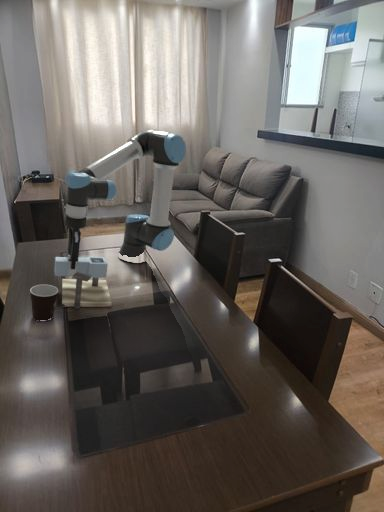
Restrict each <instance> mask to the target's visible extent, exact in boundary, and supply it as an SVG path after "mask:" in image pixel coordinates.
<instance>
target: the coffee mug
mask: <svg viewBox="0 0 384 512" xmlns="http://www.w3.org/2000/svg"><path fill="white" fill-rule="evenodd" d="M29 294H30V302H31V303H30V304H31V315H32V319H33V318H34V319H35V320H34V319H33V320H34V321H36V320H39V321H40V320H48V319H50V318H52V317H53V318H54V315H55V314H54V313H55V310H56V305H57V300H58V295H59V289H58V287H56V286H54V285H51V284H45V283H44V284H37V285H34V286H32V287H31V288H30V289H29ZM53 318H52V319H53ZM39 321H38V322H39Z"/></svg>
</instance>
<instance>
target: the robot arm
mask: <svg viewBox="0 0 384 512" xmlns="http://www.w3.org/2000/svg"><path fill="white" fill-rule="evenodd" d="M186 154H187V146H186V142H185V140H184V138H183V137H182V136H181V135H179V134H178V133H177V134H176V133H174V132H168V131H164V130H159V129H153V128H152V129H151V128H150V129H147V130H144V131H141V132H139V133H136V134H135V135H133V136H131V137H130V138H128V139H127V140H126V143H124V144H122V145H121V146H118V147H117V148H116V149H114V150H112V151H110V152H109V153H107V154H106V155H104V156H102V157H101V158H100V159H97V160H96V161H94V162H92V163H91V164H89V165H87V166H85V167H84V168H83V169H81V170H74V169H73V170H70V171H69V172H67V174H66V176H65V183H66V186H67V191H66V205H64V207H63V208H64V209H65V214H66V215H65V217H64V226H66V227H68V243H67V257H70V259H68V261H69V271H68V276H67V277H72V276H73V275H74V274H75V273H76V267H77V261H78V258H79V254H80V243H81V240H82V239H81V235H82V232H81V231H80V229H83V228H84V229H85V227H86V225H87V216H88V208H89V201H96V200H98V201H99V200H100V201H101V200H104V201H106V200H111V199H113V198H115V196H116V195H117V186H116V183H115V182H114V181H113V180H111V179H107V177H108V176H110V175H112V174H114V173H115V172H116V171H118V170H120V169H121V168H123V167H124V166H126V165H128V164H129V163H131V162H133V161H134V160H136V159H141V158H143V157H145V156H147V157H148V156H151V157H152V163H153V164H154V166H155V171H154V179H153V187H152V196H151V197H152V198H151V203H150V204H151V205H150V215H145V214H136V213H135V214H128V215H127V216H126V220H125V224H124V234H123V242H122V244H121V247H120V249H119V250H120V251H118V253H120V254H121V255H122V256H123V255H127V256H128V257H136V256H139V255H140V254H142V253H143V252H144V250H145V249H147V246H148V247H150V248H151V249H153V250H156V251H159V252H160V251H161V252H162V251H165V250H166V249H168V248H169V247H170V246H171V245H172V243H173V241H174V239H175V232H174V231H173V230H172V229H171V222H170V220H169V215H170V207H171V206H170V205H171V200H172V199H171V198H172V191H173V186H174V185H173V184H174V183H173V182H174V177H175V170H176V169H177V168H178V167H179V164H180V163H181V162H183V160H184V158H186V157H185V156H186Z"/></svg>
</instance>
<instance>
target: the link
mask: <svg viewBox="0 0 384 512" xmlns="http://www.w3.org/2000/svg"><path fill="white" fill-rule="evenodd" d="M68 259H70V257H68V256H67V257H66V256H63V257H62V256H55V258H54V269H53V273H54V277H69V276H68V271H69V261H68ZM95 260H98V261H100V263H94V261H95ZM108 265H109V264H108V261H107V259H106V257H104V256H86V257H78V261H77V267H76V272H80V273H85V274H89V275H92V276H91V278H90V279H93V278H99V279H101V278H102V279H103V278H104V279H105V278H107V273H108Z"/></svg>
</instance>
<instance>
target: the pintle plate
mask: <svg viewBox="0 0 384 512" xmlns="http://www.w3.org/2000/svg"><path fill="white" fill-rule="evenodd" d="M94 263H100V261H98V260H95V261H94ZM91 276H92V275H89V274H85V273H80V272H76V273H75V274H74V275H73V276H71V278H62V281H61V285H62V286H61V287H62V288H61V305H62V304H64V305H65V306H64V307H73V308H74V309H75V310H78V309H80V308H81V307H87V308H88V307H89V308H90V307H93V308H94V307H98V308H99V307H102V308H103V307H104V308H105V307H106V308H108V307H109V308H110V307H112V304H113V303H112V299H111V295H110V292H109V285H108V283H107V280H106V279H105V280H104V279H100V278H91Z"/></svg>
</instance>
